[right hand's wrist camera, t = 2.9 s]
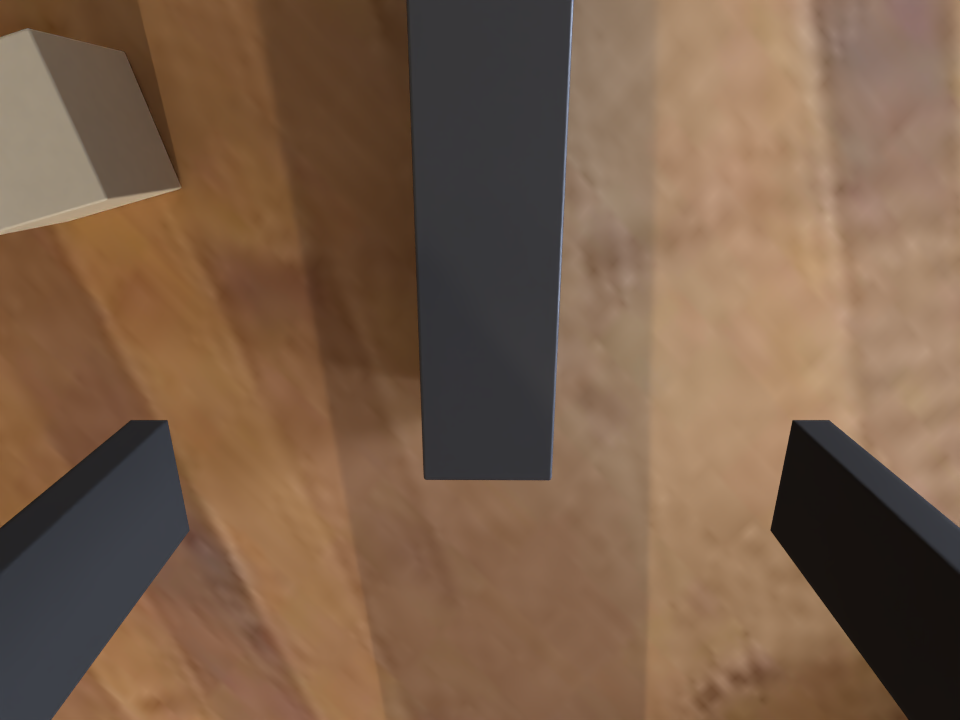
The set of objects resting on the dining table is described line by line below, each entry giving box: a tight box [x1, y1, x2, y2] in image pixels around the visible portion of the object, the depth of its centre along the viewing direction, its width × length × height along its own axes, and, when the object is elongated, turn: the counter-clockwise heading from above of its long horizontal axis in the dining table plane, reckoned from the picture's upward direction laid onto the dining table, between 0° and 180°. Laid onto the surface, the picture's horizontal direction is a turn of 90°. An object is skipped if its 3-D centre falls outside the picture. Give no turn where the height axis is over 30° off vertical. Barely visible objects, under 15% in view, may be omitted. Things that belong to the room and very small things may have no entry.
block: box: [0, 28, 181, 235], centre depth 21 cm, size 5×5×5 cm
